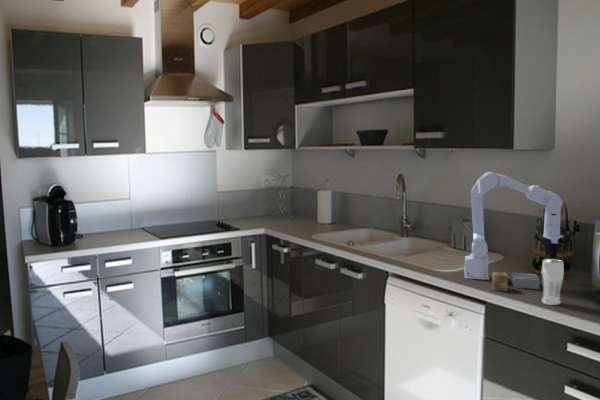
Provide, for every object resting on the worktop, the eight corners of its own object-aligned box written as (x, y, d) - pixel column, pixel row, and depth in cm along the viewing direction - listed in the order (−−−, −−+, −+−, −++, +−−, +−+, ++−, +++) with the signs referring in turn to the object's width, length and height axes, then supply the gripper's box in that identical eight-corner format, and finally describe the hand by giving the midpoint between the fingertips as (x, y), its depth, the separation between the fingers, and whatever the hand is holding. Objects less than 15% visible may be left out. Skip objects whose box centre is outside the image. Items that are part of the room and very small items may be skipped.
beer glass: (564, 302, 180) (566, 260, 179) (558, 307, 175) (560, 264, 173) (543, 298, 185) (545, 257, 183) (537, 303, 180) (539, 261, 178)
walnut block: (492, 290, 195) (493, 275, 195) (492, 286, 200) (492, 271, 199) (506, 291, 194) (507, 276, 193) (505, 287, 199) (506, 272, 198)
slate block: (513, 288, 199) (514, 278, 198) (511, 282, 207) (511, 272, 207) (539, 290, 196) (539, 280, 196) (535, 283, 205) (536, 274, 204)
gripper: (567, 227, 195) (565, 262, 196) (559, 221, 209) (557, 254, 210) (546, 226, 197) (545, 261, 199) (540, 221, 211) (539, 253, 212)
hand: (550, 257), depth 205 cm, fingers open, 7 cm apart
